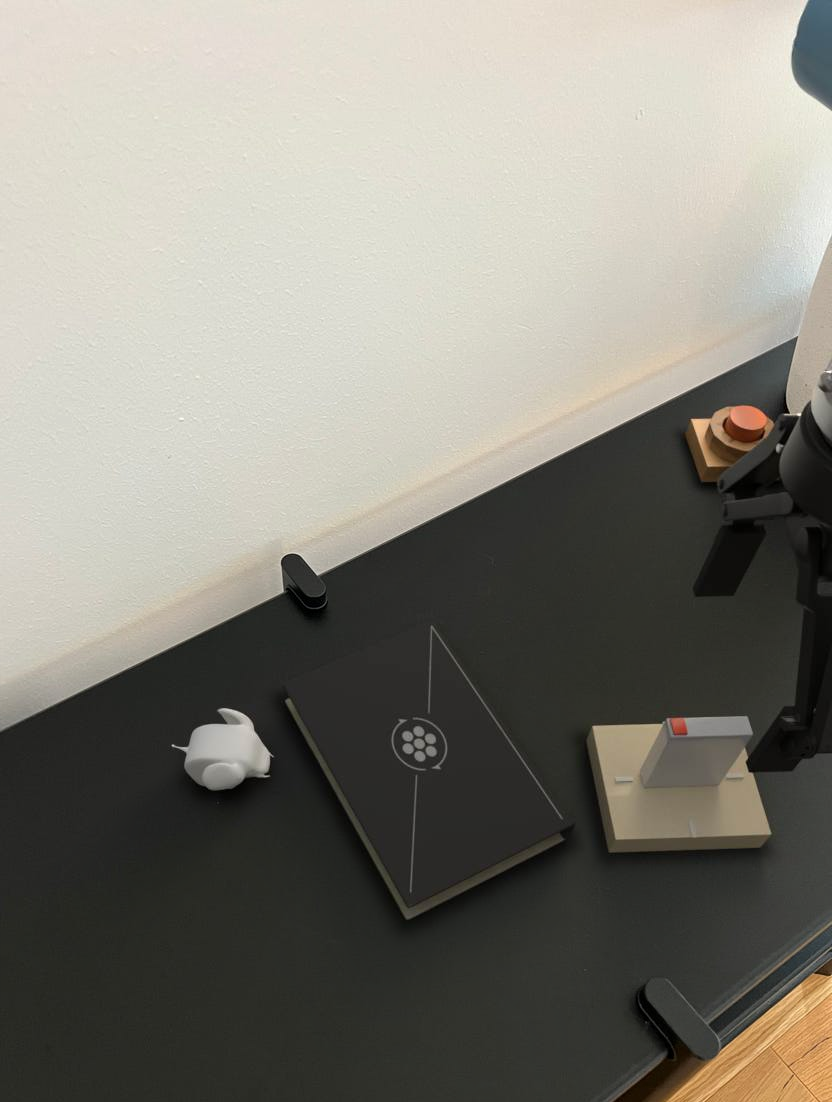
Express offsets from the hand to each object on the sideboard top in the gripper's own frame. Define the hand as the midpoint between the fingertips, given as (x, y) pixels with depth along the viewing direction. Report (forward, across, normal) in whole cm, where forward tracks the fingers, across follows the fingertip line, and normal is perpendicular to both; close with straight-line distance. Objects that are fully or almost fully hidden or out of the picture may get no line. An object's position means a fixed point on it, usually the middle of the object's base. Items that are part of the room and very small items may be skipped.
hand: (738, 674), depth 64 cm
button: (+15, -39, +16) cm, 44 cm away
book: (+19, -4, -19) cm, 27 cm away
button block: (+18, -39, +16) cm, 46 cm away
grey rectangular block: (+16, -1, +1) cm, 16 cm away
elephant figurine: (+19, -4, -35) cm, 40 cm away
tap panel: (+18, -1, +1) cm, 18 cm away
